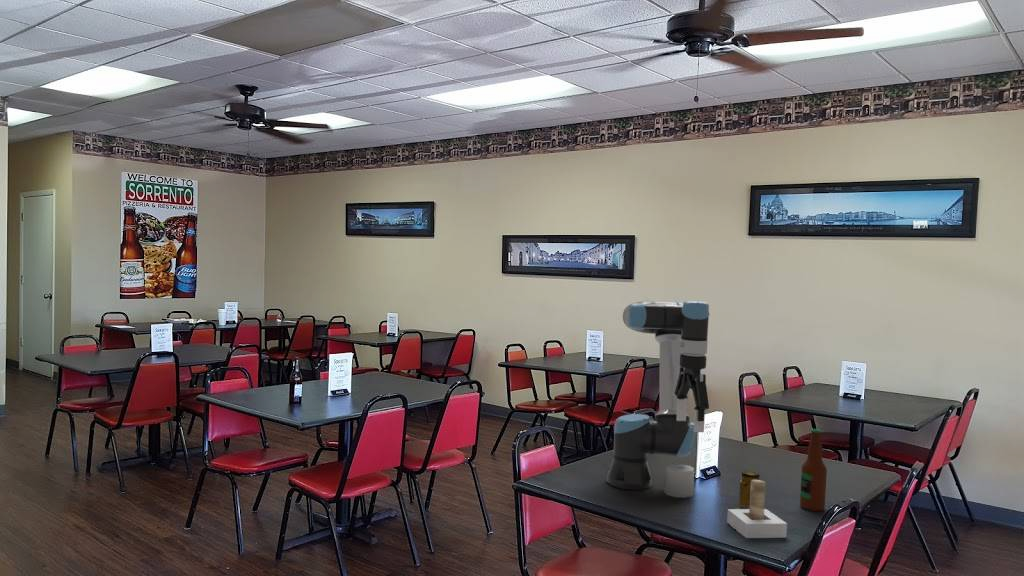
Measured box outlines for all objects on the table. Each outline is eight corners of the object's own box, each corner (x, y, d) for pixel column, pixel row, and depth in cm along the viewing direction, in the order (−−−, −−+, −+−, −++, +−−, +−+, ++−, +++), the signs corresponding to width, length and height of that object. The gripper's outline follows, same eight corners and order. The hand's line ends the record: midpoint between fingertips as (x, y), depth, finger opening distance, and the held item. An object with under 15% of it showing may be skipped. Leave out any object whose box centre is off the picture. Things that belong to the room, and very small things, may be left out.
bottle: (803, 502, 235) (808, 426, 234) (827, 508, 230) (831, 430, 230) (796, 507, 229) (800, 429, 229) (820, 513, 225) (825, 433, 224)
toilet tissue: (678, 484, 249) (679, 460, 249) (697, 497, 236) (699, 471, 236) (654, 485, 247) (655, 460, 246) (672, 498, 234) (673, 472, 234)
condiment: (743, 506, 229) (745, 468, 229) (769, 513, 223) (771, 474, 223) (732, 511, 224) (734, 472, 223) (759, 518, 218) (761, 479, 218)
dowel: (745, 527, 210) (748, 479, 209) (758, 527, 210) (761, 479, 210) (752, 532, 206) (755, 483, 205) (765, 532, 206) (768, 483, 206)
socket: (727, 522, 213) (727, 509, 213) (765, 522, 215) (766, 508, 215) (745, 538, 201) (746, 523, 201) (786, 537, 203) (787, 523, 203)
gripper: (666, 348, 223) (662, 416, 224) (697, 360, 198) (693, 437, 199) (689, 348, 224) (686, 416, 225) (723, 361, 199) (719, 437, 200)
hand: (689, 426), depth 212 cm, fingers open, 13 cm apart
